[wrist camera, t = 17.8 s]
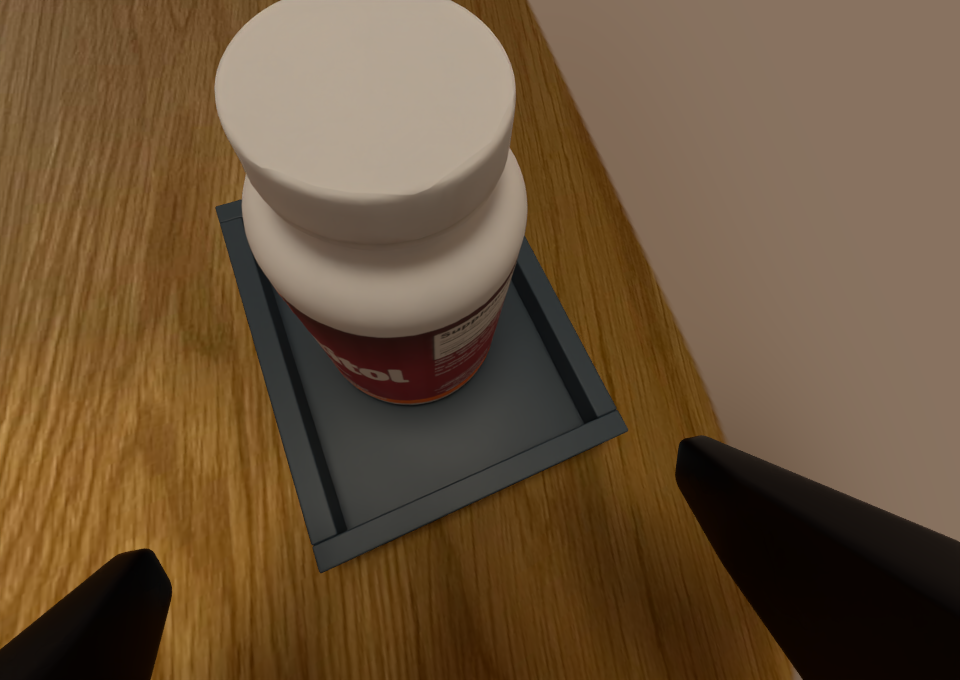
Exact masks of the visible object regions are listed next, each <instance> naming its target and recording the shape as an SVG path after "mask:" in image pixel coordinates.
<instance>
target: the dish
mask: <svg viewBox="0 0 960 680" xmlns="http://www.w3.org/2000/svg"><path fill="white" fill-rule="evenodd" d="M216 212H217V215H218V219H219V222H220V226H221V229H222V233H223V236H224V240H225V243H226V247H227V250H228V254H229V257H230V261H231V264H232V268H233V271H234V275H235V278H236V282H237V285H238V289H239V292H240V296H241V299H242V303H243V306H244V310H245V313H246V317H247V320H248V324H249V327H250V331H251V334H252V338H253V341H254V345H255V348H256V352H257V355H258V359H259V362H260V366H261V369H262V373H263V376H264V380H265V383H266V387H267V390H268V394H269V397H270V401H271V404H272V408H273V411H274V415H275V418H276V422H277V425H278V429H279V432H280V436H281V439H282V443H283V446H284V450H285V453H286V457H287V460H288V464H289V467H290V471H291V474H292V478H293V481H294V485H295V488H296V492H297V495H298V499H299V502H300V506H301V509H302V513H303V516H304V520H305V523H306V527H307V530H308V534H309V538H310V541H311V544H312V545H314V546H313V552H314V555H315V559H316V562H317V566H318V569H319V572H320V573H323V572H325V571H327V570H329V569H332V568H334V567H336V566H338V565H340V564H342V563H345V562H347V561H349V560H351V559H353V558H355V557H357V556H360V555H362V554H364V553H366V552H368V551H370V550H373V549H375V548H377V547H379V546H381V545H383V544H386V543H388V542H390V541H392V540H394V539H396V538H399V537H401V536H403V535H405V534H407V533H409V532H411V531H414V530H416V529H418V528H420V527H422V526H424V525H427V524H429V523H431V522H433V521H435V520H437V519H440V518H442V517H444V516H446V515H448V514H450V513H452V512H455V511H457V510H459V509H461V508H463V507H465V506H468V505H470V504H472V503H474V502H476V501H478V500H481V499H483V498H485V497H487V496H489V495H491V494H494V493H496V492H498V491H500V490H502V489H504V488H506V487H509V486H511V485H513V484H515V483H517V482H519V481H522V480H524V479H526V478H528V477H530V476H532V475H535V474H537V473H539V472H541V471H543V470H545V469H548V468H550V467H552V466H554V465H556V464H558V463H560V462H563V461H565V460H567V459H569V458H571V457H573V456H576V455H578V454H580V453H582V452H584V451H586V450H589V449H591V448H593V447H595V446H597V445H599V444H602V443H604V442H606V441H608V440H610V439H612V438H614V437H617V436H619V435H621V434H623V433H625V432H627V431H628V429H627V427H626V425H625V423H624V421H623V419H622V417H621V415H620V414H619V412H618V410H616V406H615V404H614V403H613V401H612V399H611V397H610V395H609V393H608V391H607V389H606V388H605V386H604V384H603V382H602V380H601V378H600V376H599V374H598V373H597V371H596V369H595V367H594V365H593V363H592V361H591V359H590V358H589V356H588V354H587V352H586V350H585V348H584V346H583V344H582V343H581V341H580V339H579V337H578V335H577V333H576V331H575V329H574V328H573V326H572V324H571V322H570V320H569V318H568V316H567V314H566V313H565V311H564V309H563V307H562V305H561V303H560V301H559V299H558V298H557V296H556V294H555V292H554V290H553V288H552V286H551V284H550V283H549V281H548V279H547V277H546V275H545V273H544V271H543V269H542V268H541V266H540V264H539V262H538V260H537V258H536V256H535V254H534V253H533V251H532V249H531V247H530V245H529V243H528V241H527V239H526V238H525V236H524V238H523V241H522V245H521V248H520V252H519V256H518V259H517V262H516V265H515V268H514V271H513V275H512V278H511V281H510V285H509V288H508V290H507V293H506V297H505V300H504V303H503V306H502V309H501V313H500V316H499V320H498V323H497V326H496V329H495V332H494V335H493V339H492V342H491V345H490V348H489V351H488V353H487V355H486V358H485V359H484V361H483V363H482V364H481V366H480V368H479V369H478V370H477V372H476V373H475V374H474V376H473V377H472V378H471V379H470V380H469V381H468V382H467V383H466V384H464V385H463V386H462V387H461V388H459V389H458V390H457V391H455V392H453V393H451V394H450V395H448V396H446V397H444V398H441V399H439V400H436V401H433V402H429V403H424V404H416V405H400V404H393V403H389V402H385V401H382V400H379V399H377V398H374V397H372V396H369V395H367V394H366V393H364V392H362V391H361V390H359V389H358V388H356V387H355V386H354V385H353V384H352V383H351V382H350V381H348V380H347V379H346V378H345V377H344V375H343V374H342V373H341V372H340V371H339V369H338V368H337V367H336V365H335V364H334V363H333V361H332V360H331V359H330V358H329V356H328V355H327V353H326V352H325V351H324V350H323V348H322V347H321V346H320V344H319V343H318V342H317V340H316V339H315V338H314V337H313V335H312V334H311V333H310V332H309V331H308V330H307V328H306V327H305V326H304V325H303V323H302V322H301V321H300V319H299V318H298V317H297V316H296V314H294V313H293V311H292V310H291V308H290V307H289V306H288V304H287V303H286V302H285V301H284V299H283V298H282V297H281V296H280V295H279V294H278V292H277V291H276V289H275V288H274V287H273V285H272V284H271V282H270V281H269V279H268V278H267V277H266V275H265V274H264V272H263V271H262V269H261V268H260V266H259V265H258V263H257V261H256V259H255V257H254V255H253V253H252V251H251V248H250V245H249V243H248V240H247V237H246V233H245V228H244V222H243V215H242V200H238V201H234V202H231V203H227V204H223V205H220V206H216Z"/></svg>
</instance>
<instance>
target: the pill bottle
mask: <svg viewBox="0 0 960 680" xmlns="http://www.w3.org/2000/svg"><path fill="white" fill-rule="evenodd" d="M215 99H216V107H217V112H218V115H219V118H220V121H221V124H222V127H223V129H224V131H225V134H226V136H227V138H228V140H229V142H230V143H231V145H232V147H233V149H234V150H235V152H236V154H237V156H238V157H239V159H240V161H241V163H242V166H243V168H244V170H245V172H246V177H245V182H244V187H243V193H242V215H243V222H244V228H245V233H246V237H247V240H248V243H249V245H250V248H251V251H252V253H253V255H254V257H255V259H256V261H257V263H258V265H259V266H260V268H261V269H262V271H263V272H264V274H265V275H266V277H267V278H268V279H269V281H270V282H271V284H272V285H273V287H274V288H275V289H276V291H277V292H278V294H279V295H280V296H281V297H282V298H283V299H284V301H285V302H286V303H287V304H288V306H289V307H290V308H291V310H292V311H293V313H294V314H296V316H297V317H298V318H299V319H300V321H301V322H302V323H303V325H304V326H305V327H306V328H307V330H308V331H309V332H310V333H311V334H312V335H313V337H314V338H315V339H316V340H317V342H318V343H319V344H320V346H321V347H322V348H323V350H324V351H325V352H326V353H327V355H328V356H329V358H330V359H331V360H332V361H333V363H334V364H335V365H336V367H337V368H338V369H339V371H340V372H341V373H342V374H343V375H344V377H345V378H346V379H347V380H348V381H350V382H351V383H352V384H353V385H354V386H355V387H356V388H358V389H359V390H361V391H362V392H364V393H366V394H367V395H369V396H372V397H374V398H377V399H379V400H382V401H385V402H389V403H393V404H400V405H416V404H424V403H429V402H433V401H436V400H439V399H441V398H444V397H446V396H448V395H450V394H451V393H453V392H455V391H457V390H458V389H459V388H461V387H462V386H463V385H464V384H466V383H467V382H468V381H469V380H470V379H471V378H472V377H473V376H474V374H475V373H476V372H477V370H478V369H479V368H480V366H481V364H482V363H483V361H484V359H485V358H486V355H487V353H488V351H489V348H490V345H491V342H492V339H493V335H494V332H495V329H496V326H497V323H498V320H499V316H500V313H501V309H502V306H503V303H504V300H505V297H506V293H507V290H508V288H509V285H510V281H511V278H512V275H513V271H514V268H515V265H516V262H517V259H518V256H519V252H520V248H521V245H522V241H523V238H524V234H525V228H526V221H527V196H526V189H525V184H524V180H523V176H522V173H521V170H520V168H519V165H518V163H517V160H516V158H515V156H514V154H513V153H512V151H511V149H510V148H509V147H510V141H511V133H512V125H513V119H514V112H515V101H516V90H515V79H514V73H513V70H512V66H511V63H510V61H509V59H508V56H507V54H506V52H505V50H504V48H503V47H502V45H501V44H500V42H499V41H498V39H497V38H496V36H495V35H494V34H493V33H492V31H491V30H490V29H489V28H488V27H487V26H486V25H485V24H484V23H483V22H482V21H481V20H480V19H479V18H477V17H476V16H475V15H473V14H472V13H471V12H469V11H468V10H467V9H465V8H464V7H462V6H460V5H458V4H456V3H455V2H453V1H451V0H281V1H279V2H277V3H275V4H273V5H271V6H269V7H268V8H266V9H264V10H263V11H262V12H260V13H259V14H257V15H256V16H255V17H253V18H252V19H251V20H250V21H249V22H248V23H246V24H245V25H244V26H243V27H242V29H241V30H240V31H239V32H238V33H237V34H236V35H235V37H234V38H233V39H232V41H231V42H230V44H229V45H228V47H227V48H226V50H225V52H224V54H223V56H222V58H221V60H220V63H219V66H218V69H217V73H216V79H215Z"/></svg>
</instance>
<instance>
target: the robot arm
mask: <svg viewBox="0 0 960 680" xmlns="http://www.w3.org/2000/svg"><path fill="white" fill-rule="evenodd" d="M675 477H676V482H677V484H678V487H679V489H680V491H681V492H682V494H683V496H684V498H685V499H686V501H687V503H688V505H689V506H690V508H691V510H692V512H693V514H694V515H695V517H696V519H697V521H698V522H699V524H700V526H701V528H702V529H703V531H704V533H705V535H706V536H707V538H708V540H709V542H710V543H711V545H712V547H713V549H714V551H715V552H716V554H717V556H718V557H719V559H720V560H721V562H722V564H723V565H724V567H725V568H726V570H727V571H728V573H729V574H730V576H731V577H732V579H733V580H734V582H735V583H736V584H737V586H738V587H739V589H740V590H741V592H742V593H743V594H744V596H745V597H746V599H747V600H748V602H749V603H750V605H751V606H752V607H753V609H754V610H755V612H756V613H757V615H758V616H759V617H760V619H761V620H762V622H763V623H764V625H765V626H766V627H767V629H768V630H769V632H770V633H771V635H772V636H773V637H774V639H775V640H776V642H777V643H778V645H779V646H780V647H781V649H782V650H783V652H784V653H785V655H786V656H787V658H788V659H789V660H790V662H791V663H792V665H793V666H794V668H795V669H796V670H797V672H798V673H799V675H800V676H801V678H802V679H803V680H960V542H959V541H957V540H954V539H952V538H950V537H947V536H945V535H943V534H940V533H938V532H935V531H933V530H931V529H928V528H926V527H923V526H921V525H919V524H916V523H914V522H911V521H909V520H906V519H904V518H902V517H899V516H897V515H894V514H892V513H890V512H887V511H885V510H882V509H880V508H878V507H875V506H872V505H870V504H868V503H865V502H863V501H861V500H858V499H856V498H853V497H851V496H849V495H846V494H844V493H841V492H839V491H837V490H834V489H832V488H829V487H827V486H825V485H822V484H820V483H817V482H815V481H813V480H810V479H808V478H805V477H803V476H801V475H798V474H796V473H793V472H791V471H789V470H786V469H784V468H781V467H779V466H776V465H774V464H772V463H769V462H767V461H764V460H762V459H760V458H757V457H755V456H752V455H750V454H748V453H745V452H743V451H740V450H738V449H736V448H733V447H731V446H728V445H726V444H724V443H721V442H719V441H716V440H714V439H712V438H709V437H706V436H695V437H690V438H685V439H683V440H682V441H681V442H680V444H679V448H678V456H677V464H676V471H675ZM171 597H172V586H171V582H170V580H169V578H168V576H167V574H166V573H165V571H164V569H163V567H162V566H161V564H160V562H159V560H158V559H157V557H156V555H155V553H154V552H153V551H152V550H150V549H145V548H144V549H139V550H134V551H129V552H124V553H121V554H118V555H116V556H115V557H113V558H112V559H111V560H110V561H108V562H107V563H106V564H105V565H103V566H102V567H101V568H100V569H99V570H97V571H96V572H95V573H94V574H92V575H91V576H90V577H89V578H87V579H86V580H85V581H84V582H83V583H81V584H80V585H79V586H78V587H76V588H75V589H74V590H73V591H72V592H70V593H69V594H68V595H67V596H65V597H64V598H63V599H62V600H60V601H59V602H58V603H57V604H56V605H54V606H53V607H52V608H51V609H49V610H48V611H47V612H46V613H44V614H43V615H42V616H41V617H40V618H38V619H37V620H36V621H35V622H33V623H32V624H31V625H30V626H29V627H27V628H26V629H25V630H24V631H22V632H21V633H20V634H19V635H17V636H16V637H15V638H14V639H13V640H11V641H10V642H9V643H8V644H6V645H5V646H4V647H3V648H1V649H0V680H151V676H152V672H153V668H154V664H155V660H156V657H157V653H158V649H159V645H160V641H161V637H162V633H163V629H164V625H165V621H166V618H167V614H168V610H169V606H170V602H171Z"/></svg>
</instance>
